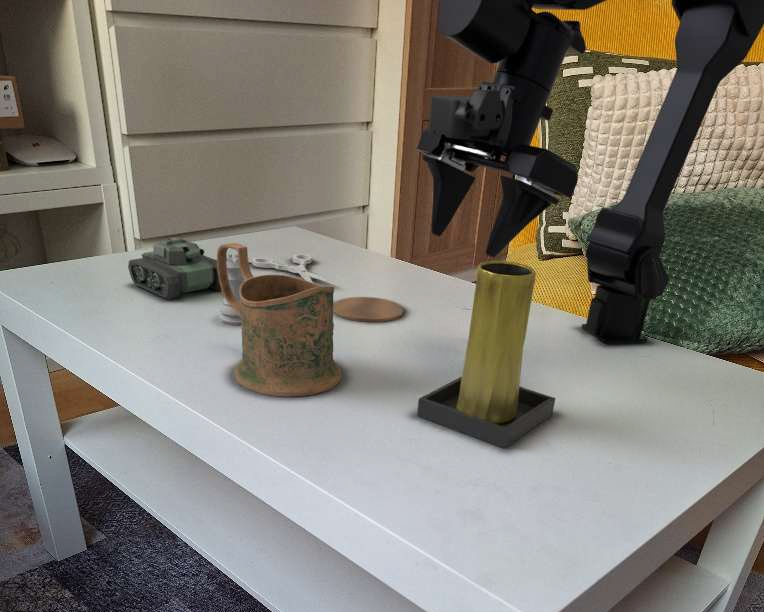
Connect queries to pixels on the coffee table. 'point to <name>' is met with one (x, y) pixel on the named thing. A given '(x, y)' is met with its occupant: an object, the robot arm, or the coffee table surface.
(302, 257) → the scissors
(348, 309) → the coaster
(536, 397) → the black tray
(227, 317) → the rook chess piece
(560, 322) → the coffee table surface
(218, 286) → the toy tank
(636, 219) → the robot arm
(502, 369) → the vase
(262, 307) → the mug
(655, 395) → the coffee table surface
